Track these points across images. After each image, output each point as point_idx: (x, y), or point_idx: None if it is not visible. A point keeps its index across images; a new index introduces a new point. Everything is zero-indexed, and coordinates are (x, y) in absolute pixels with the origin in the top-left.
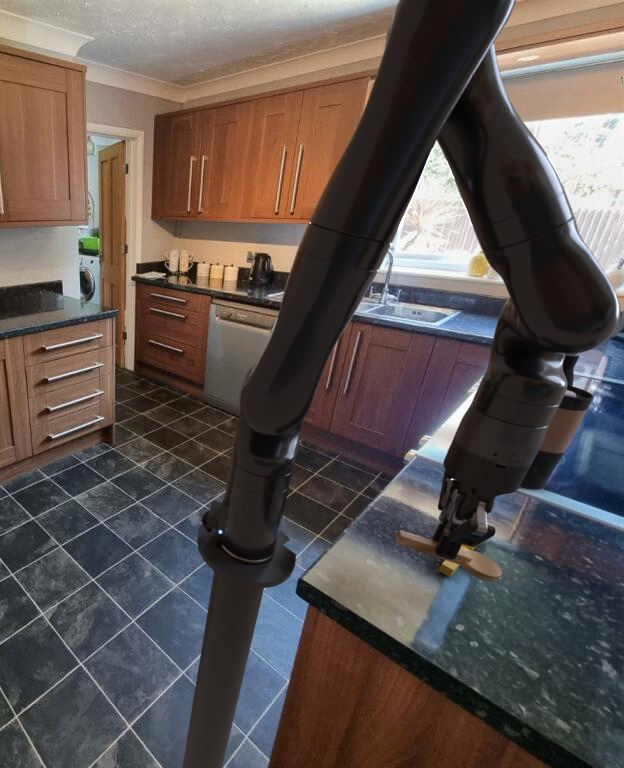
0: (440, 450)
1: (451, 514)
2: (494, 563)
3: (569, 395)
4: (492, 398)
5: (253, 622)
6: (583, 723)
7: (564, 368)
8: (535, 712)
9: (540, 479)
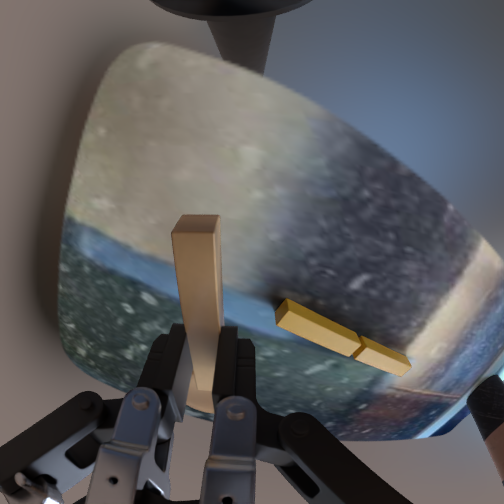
0: None
1: (91, 476)
2: None
3: None
4: None
5: (222, 36)
6: (97, 368)
7: None
8: (76, 335)
9: (472, 410)
